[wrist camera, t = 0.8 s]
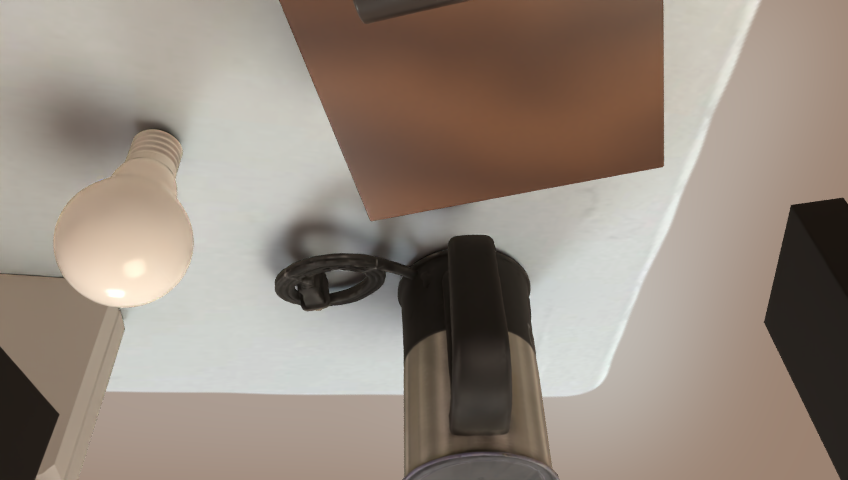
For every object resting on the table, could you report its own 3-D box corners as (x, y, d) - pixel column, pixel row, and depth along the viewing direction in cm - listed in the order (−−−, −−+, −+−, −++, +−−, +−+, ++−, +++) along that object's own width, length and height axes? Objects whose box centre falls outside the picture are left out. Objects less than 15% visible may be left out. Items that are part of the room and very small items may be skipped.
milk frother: (542, 314, 54) (575, 513, 44) (341, 357, 58) (329, 551, 48) (494, 176, 45) (522, 392, 34) (255, 237, 48) (216, 451, 38)
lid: (211, -181, 22) (150, -58, 17) (655, -306, 20) (752, -212, 15) (370, 209, 34) (365, 357, 28) (659, 154, 32) (714, 302, 26)
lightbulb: (239, 163, 43) (206, 315, 36) (148, 194, 45) (97, 345, 37) (174, 78, 39) (121, 229, 31) (75, 116, 41) (2, 268, 33)
